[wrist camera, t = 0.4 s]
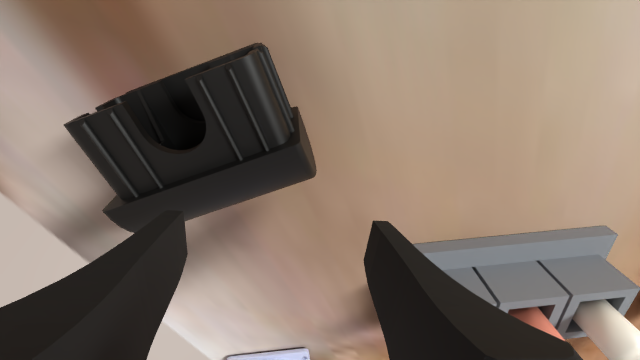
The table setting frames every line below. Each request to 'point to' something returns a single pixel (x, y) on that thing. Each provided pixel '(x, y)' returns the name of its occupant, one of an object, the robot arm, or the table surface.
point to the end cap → (197, 140)
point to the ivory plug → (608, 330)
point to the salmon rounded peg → (535, 319)
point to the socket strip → (538, 271)
